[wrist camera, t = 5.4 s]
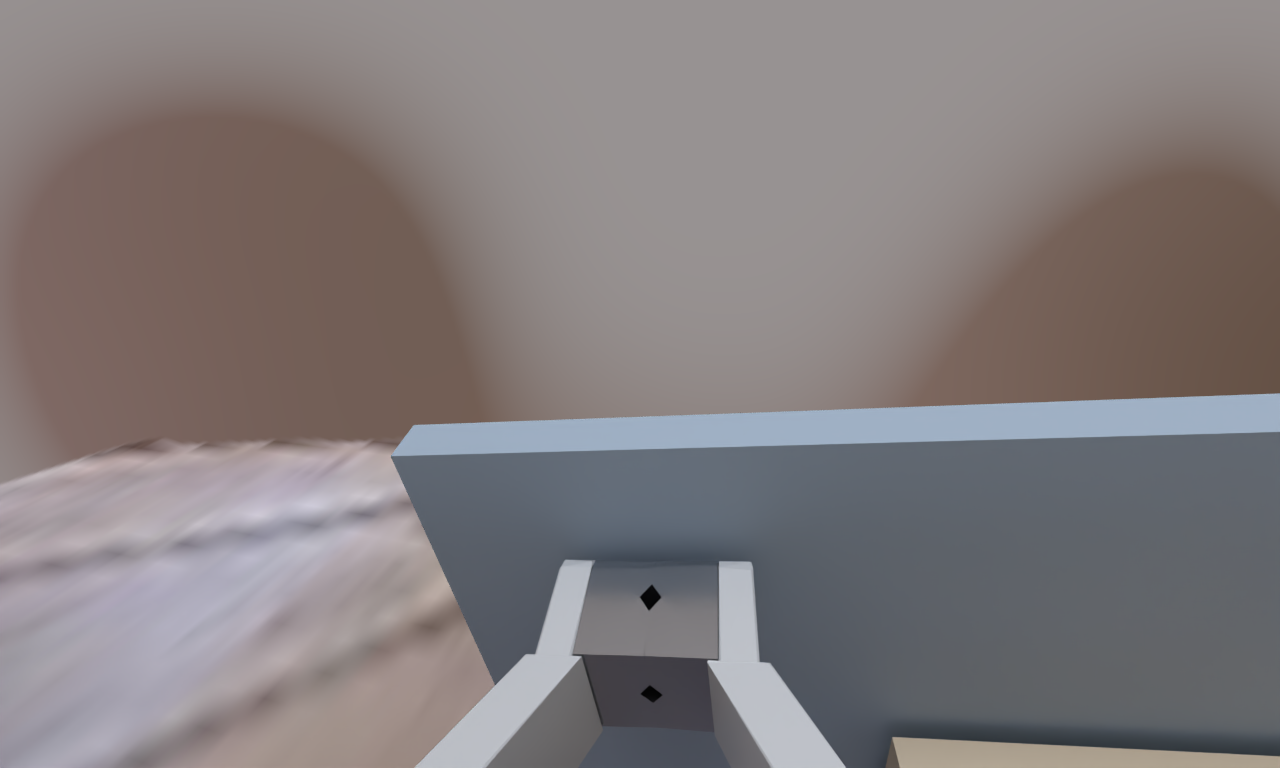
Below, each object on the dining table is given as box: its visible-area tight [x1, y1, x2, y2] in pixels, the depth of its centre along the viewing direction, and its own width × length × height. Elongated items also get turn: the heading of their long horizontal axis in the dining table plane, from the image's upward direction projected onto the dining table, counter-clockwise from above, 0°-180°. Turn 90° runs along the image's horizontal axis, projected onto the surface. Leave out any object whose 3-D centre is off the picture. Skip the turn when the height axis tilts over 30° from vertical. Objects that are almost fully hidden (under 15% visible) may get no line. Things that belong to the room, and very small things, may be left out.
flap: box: [391, 394, 1280, 768], centre depth 11 cm, size 23×1×14 cm, turn 84°
